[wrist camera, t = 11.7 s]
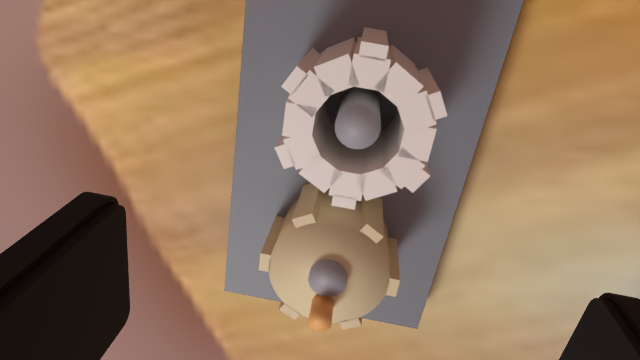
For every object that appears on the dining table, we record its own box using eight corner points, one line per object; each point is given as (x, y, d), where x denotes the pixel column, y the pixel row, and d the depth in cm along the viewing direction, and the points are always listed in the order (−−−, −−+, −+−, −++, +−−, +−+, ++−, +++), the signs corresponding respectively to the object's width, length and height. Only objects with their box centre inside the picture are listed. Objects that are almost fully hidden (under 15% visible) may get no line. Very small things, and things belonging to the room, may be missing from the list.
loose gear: (305, 17, 22) (287, 28, 18) (445, 41, 22) (463, 58, 17) (288, 154, 25) (269, 193, 21) (410, 176, 25) (417, 221, 21)
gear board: (262, -82, 22) (213, -106, 16) (523, -39, 22) (589, -45, 15) (233, 272, 32) (194, 353, 25) (414, 308, 31) (425, 400, 25)
